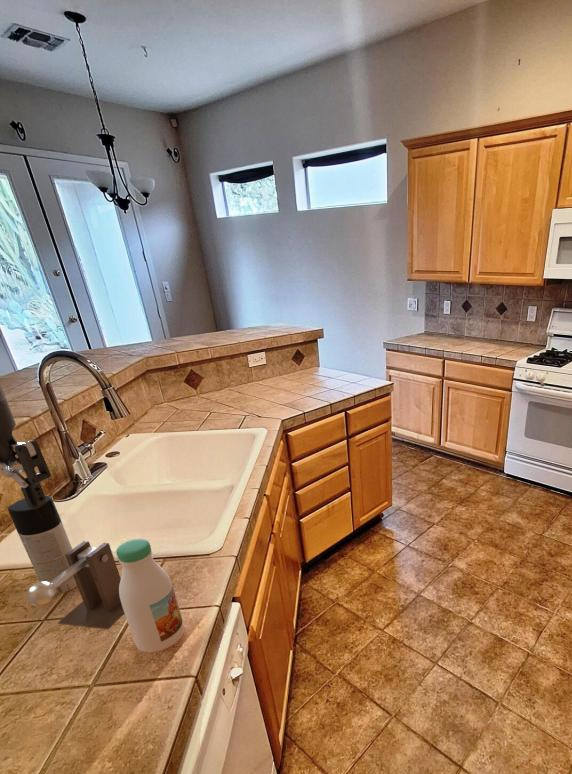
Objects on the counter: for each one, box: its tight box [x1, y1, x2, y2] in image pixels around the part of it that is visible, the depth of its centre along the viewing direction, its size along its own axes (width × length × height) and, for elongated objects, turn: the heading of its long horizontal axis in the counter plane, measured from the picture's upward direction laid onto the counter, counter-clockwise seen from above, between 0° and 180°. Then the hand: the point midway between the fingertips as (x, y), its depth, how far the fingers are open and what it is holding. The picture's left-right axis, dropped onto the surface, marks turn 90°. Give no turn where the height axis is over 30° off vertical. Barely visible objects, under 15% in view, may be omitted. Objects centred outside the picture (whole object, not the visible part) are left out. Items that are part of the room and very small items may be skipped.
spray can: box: [7, 494, 78, 595], centre depth 83 cm, size 7×7×20 cm
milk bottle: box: [115, 538, 185, 653], centre depth 72 cm, size 8×8×20 cm
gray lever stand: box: [57, 540, 125, 630], centre depth 80 cm, size 12×10×14 cm
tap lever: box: [26, 546, 98, 605], centre depth 73 cm, size 13×4×4 cm, turn 173°
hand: (12, 504), depth 65 cm, fingers open, 8 cm apart
